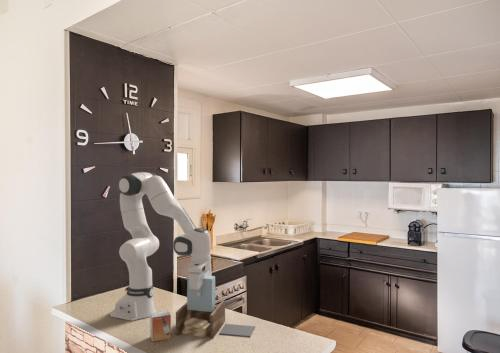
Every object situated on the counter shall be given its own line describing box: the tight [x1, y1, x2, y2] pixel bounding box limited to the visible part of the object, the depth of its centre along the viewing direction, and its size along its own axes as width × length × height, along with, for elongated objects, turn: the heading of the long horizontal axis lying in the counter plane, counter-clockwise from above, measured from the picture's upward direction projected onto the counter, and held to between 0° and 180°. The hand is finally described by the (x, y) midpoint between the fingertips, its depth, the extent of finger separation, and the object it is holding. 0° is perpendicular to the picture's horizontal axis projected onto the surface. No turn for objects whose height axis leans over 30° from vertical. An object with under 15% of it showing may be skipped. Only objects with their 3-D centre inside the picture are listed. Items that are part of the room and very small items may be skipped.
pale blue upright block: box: [186, 275, 216, 312], centre depth 168 cm, size 12×4×15 cm, turn 77°
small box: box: [149, 310, 172, 343], centre depth 158 cm, size 8×6×10 cm
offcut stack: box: [182, 318, 211, 338], centre depth 162 cm, size 11×6×5 cm, turn 71°
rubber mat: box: [218, 323, 256, 338], centre depth 164 cm, size 14×10×1 cm
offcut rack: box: [175, 299, 226, 339], centre depth 167 cm, size 17×18×10 cm
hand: (201, 293), depth 168 cm, fingers closed on pale blue upright block, 4 cm apart
